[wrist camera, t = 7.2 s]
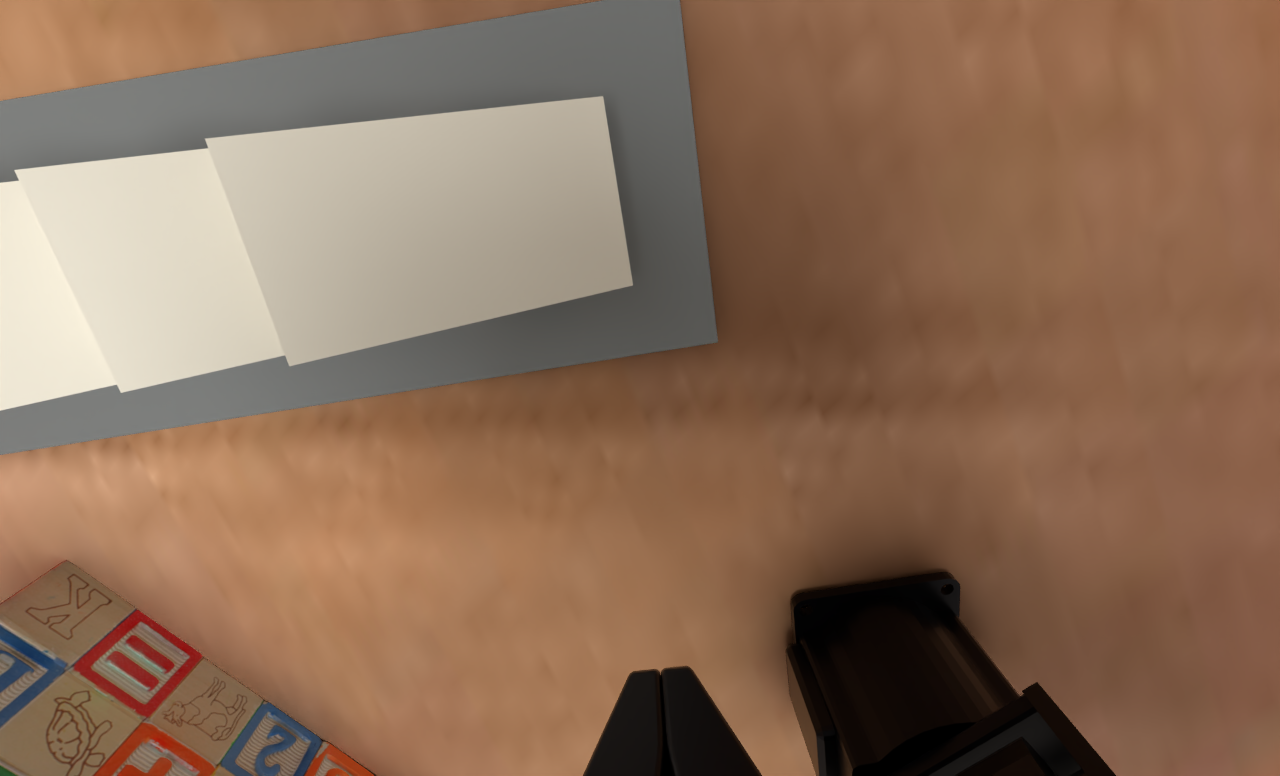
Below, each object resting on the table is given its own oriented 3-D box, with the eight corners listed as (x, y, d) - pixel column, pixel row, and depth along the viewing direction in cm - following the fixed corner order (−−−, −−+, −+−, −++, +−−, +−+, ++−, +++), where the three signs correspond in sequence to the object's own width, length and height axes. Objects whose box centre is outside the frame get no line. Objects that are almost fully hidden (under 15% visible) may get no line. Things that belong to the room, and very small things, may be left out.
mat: (676, -6, 17) (678, -13, 16) (715, 337, 20) (718, 342, 19) (-221, 143, 17) (-249, 142, 16) (-36, 455, 20) (-55, 463, 20)
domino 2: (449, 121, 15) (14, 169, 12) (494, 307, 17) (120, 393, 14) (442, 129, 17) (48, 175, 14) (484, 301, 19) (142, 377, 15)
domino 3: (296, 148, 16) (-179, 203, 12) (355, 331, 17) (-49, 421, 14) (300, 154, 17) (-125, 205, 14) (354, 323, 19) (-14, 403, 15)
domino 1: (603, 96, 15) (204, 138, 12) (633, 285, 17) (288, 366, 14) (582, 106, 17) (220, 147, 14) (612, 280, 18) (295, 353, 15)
